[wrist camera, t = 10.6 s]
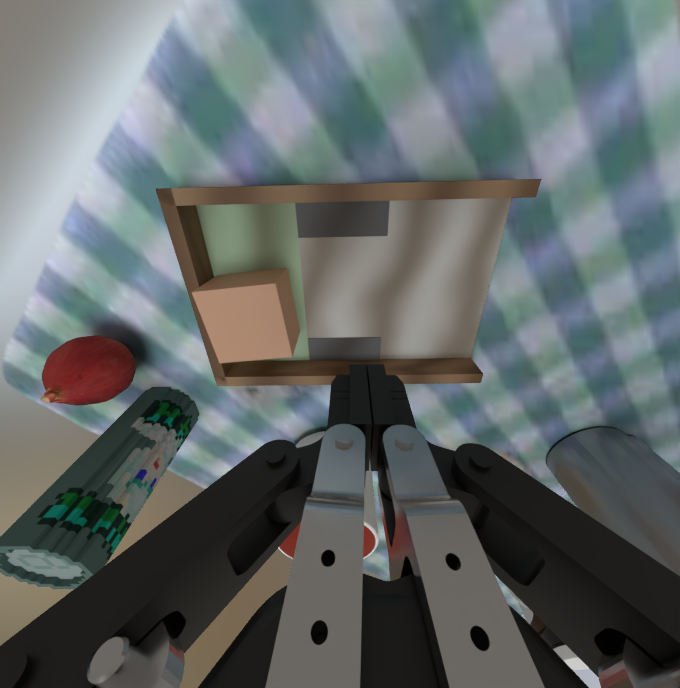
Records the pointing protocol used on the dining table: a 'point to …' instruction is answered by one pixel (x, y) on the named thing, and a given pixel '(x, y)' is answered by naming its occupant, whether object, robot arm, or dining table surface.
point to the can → (98, 495)
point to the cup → (369, 511)
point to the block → (249, 315)
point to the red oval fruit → (87, 371)
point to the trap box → (353, 270)
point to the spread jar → (550, 637)
